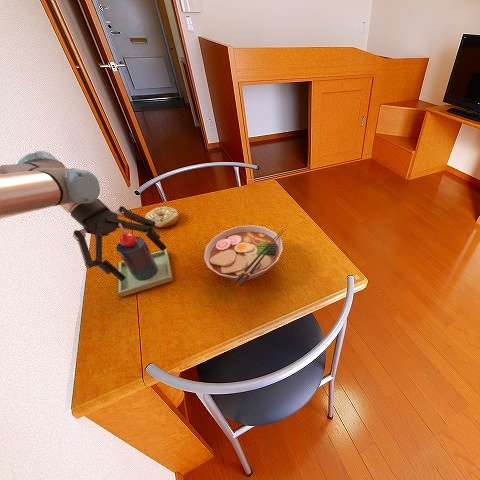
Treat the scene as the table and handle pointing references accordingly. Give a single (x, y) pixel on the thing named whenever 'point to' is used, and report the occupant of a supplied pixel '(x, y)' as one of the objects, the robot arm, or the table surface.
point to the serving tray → (160, 277)
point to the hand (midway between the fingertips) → (145, 263)
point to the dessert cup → (136, 256)
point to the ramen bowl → (243, 252)
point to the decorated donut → (163, 216)
